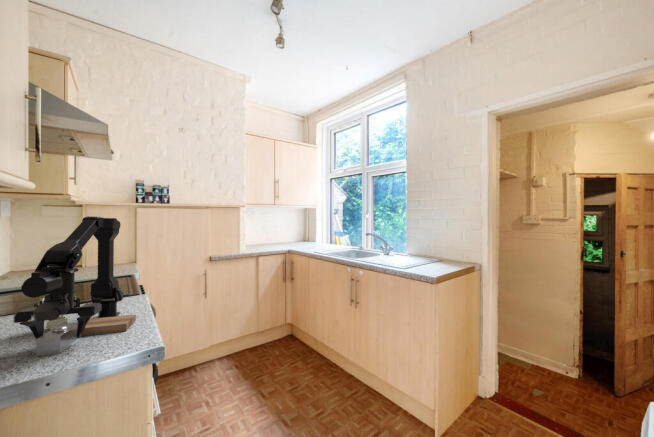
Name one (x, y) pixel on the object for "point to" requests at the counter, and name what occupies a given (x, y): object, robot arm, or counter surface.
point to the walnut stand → (108, 324)
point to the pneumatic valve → (61, 319)
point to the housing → (57, 339)
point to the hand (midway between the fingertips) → (59, 340)
